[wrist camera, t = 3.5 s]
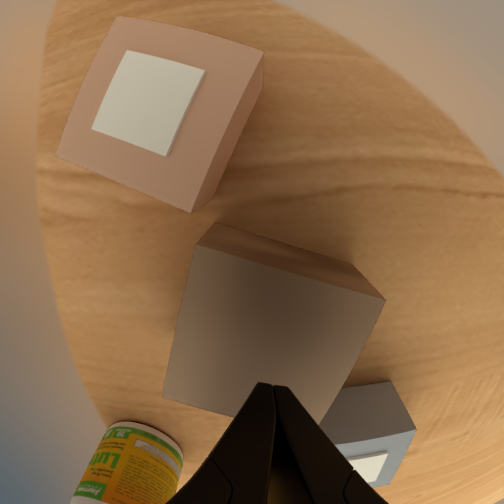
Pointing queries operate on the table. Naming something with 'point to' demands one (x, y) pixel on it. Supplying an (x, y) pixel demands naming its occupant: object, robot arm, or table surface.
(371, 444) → the grey cream-patch block
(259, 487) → the robot arm
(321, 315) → the walnut block
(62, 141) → the tan cream-patch box
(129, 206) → the table surface
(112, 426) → the supplement bottle
